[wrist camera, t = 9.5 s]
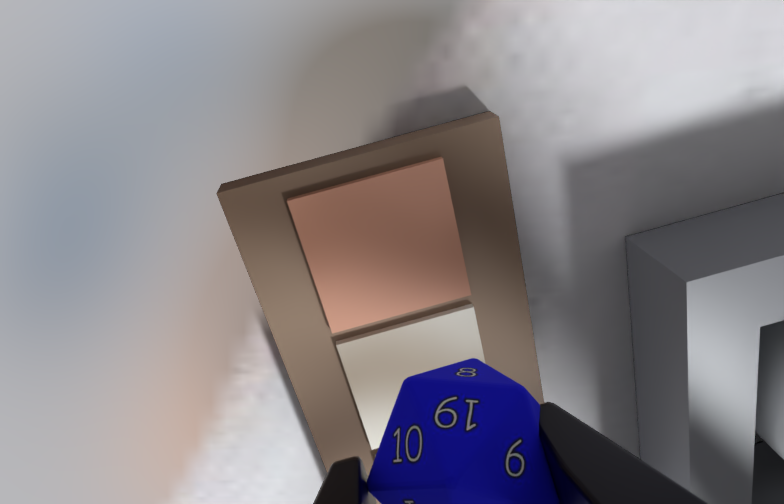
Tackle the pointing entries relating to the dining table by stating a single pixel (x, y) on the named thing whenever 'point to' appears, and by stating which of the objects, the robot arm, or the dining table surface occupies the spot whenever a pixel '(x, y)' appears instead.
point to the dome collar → (707, 348)
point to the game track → (386, 272)
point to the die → (462, 441)
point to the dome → (771, 387)
